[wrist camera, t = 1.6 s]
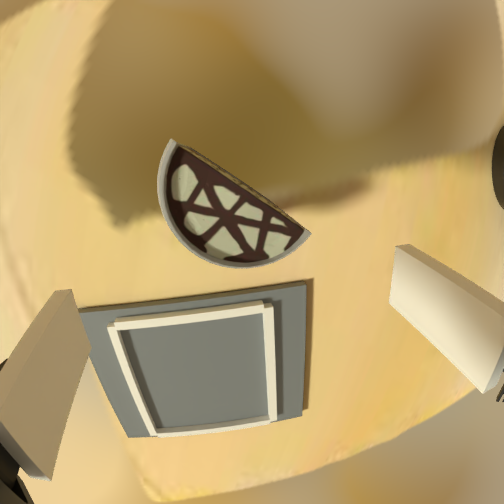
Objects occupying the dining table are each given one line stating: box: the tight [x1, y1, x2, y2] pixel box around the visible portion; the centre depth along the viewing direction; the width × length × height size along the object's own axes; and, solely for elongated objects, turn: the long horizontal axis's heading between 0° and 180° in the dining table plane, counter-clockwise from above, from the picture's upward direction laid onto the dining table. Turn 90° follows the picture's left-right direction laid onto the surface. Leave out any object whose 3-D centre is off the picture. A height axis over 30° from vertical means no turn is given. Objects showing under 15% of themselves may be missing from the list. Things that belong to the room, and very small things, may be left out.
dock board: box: [78, 281, 306, 438], centre depth 36 cm, size 26×22×2 cm
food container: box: [157, 139, 311, 268], centre depth 26 cm, size 12×6×10 cm, turn 54°
